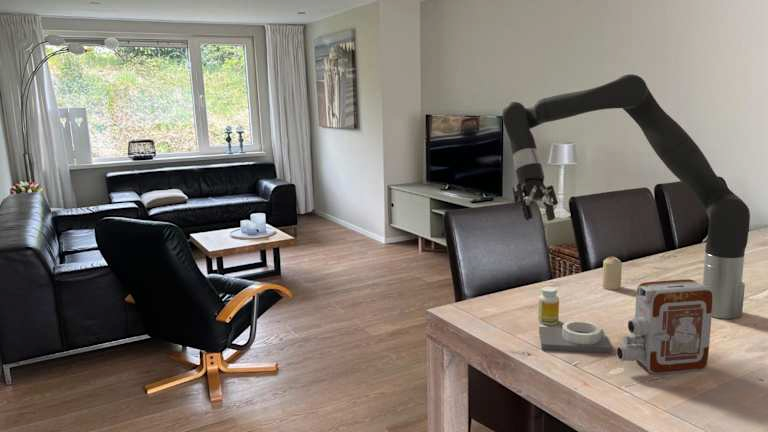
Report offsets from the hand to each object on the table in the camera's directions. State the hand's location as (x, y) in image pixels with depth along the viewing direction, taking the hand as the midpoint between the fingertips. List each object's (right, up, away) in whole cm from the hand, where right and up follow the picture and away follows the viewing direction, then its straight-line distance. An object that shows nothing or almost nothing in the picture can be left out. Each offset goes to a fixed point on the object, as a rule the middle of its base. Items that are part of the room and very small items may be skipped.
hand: (540, 219), depth 160 cm
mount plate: (+4, -31, -17) cm, 35 cm away
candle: (+29, -22, +22) cm, 43 cm away
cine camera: (+18, -34, -31) cm, 49 cm away
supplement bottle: (+1, -29, -3) cm, 29 cm away
